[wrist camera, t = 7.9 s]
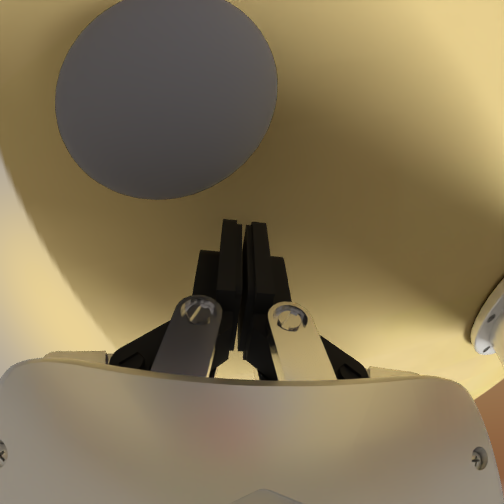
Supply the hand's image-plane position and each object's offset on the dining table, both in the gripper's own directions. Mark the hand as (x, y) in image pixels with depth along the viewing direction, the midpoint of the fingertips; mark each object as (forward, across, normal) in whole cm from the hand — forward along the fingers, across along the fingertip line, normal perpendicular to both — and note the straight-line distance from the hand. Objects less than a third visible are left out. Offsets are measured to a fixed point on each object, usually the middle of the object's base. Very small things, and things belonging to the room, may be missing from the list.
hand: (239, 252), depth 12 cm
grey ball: (-2, +3, -6) cm, 7 cm away
